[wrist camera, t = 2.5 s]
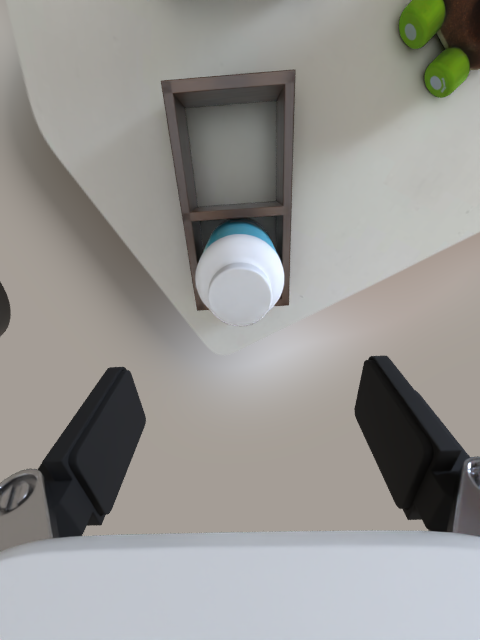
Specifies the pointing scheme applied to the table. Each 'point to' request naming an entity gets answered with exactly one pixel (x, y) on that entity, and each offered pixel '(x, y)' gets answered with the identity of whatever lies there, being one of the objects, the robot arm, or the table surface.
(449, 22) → the toy car
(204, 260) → the pill bottle
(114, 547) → the robot arm
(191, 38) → the table surface
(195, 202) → the rack
